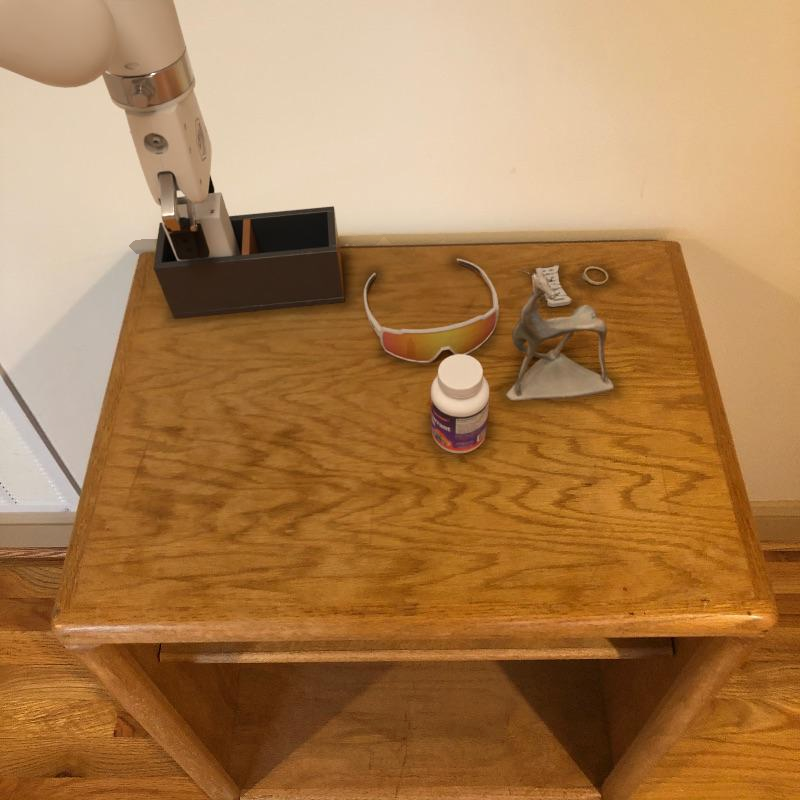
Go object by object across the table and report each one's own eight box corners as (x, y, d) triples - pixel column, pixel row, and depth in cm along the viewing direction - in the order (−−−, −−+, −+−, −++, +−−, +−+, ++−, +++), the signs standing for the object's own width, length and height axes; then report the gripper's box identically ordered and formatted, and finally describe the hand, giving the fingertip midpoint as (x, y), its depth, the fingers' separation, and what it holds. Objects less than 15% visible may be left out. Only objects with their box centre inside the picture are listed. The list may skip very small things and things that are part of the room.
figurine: (605, 347, 82) (632, 240, 70) (615, 397, 79) (646, 292, 66) (501, 351, 83) (510, 245, 71) (506, 400, 79) (517, 296, 67)
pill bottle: (423, 420, 78) (420, 358, 70) (472, 403, 79) (475, 340, 71) (444, 463, 75) (444, 403, 67) (495, 444, 76) (501, 383, 68)
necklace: (556, 265, 90) (514, 270, 89) (557, 261, 89) (515, 266, 89) (573, 307, 86) (528, 312, 85) (574, 303, 85) (529, 308, 85)
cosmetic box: (247, 273, 90) (224, 188, 81) (247, 301, 88) (222, 216, 78) (194, 278, 90) (164, 194, 80) (192, 307, 87) (160, 223, 78)
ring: (613, 278, 87) (589, 282, 87) (610, 284, 88) (587, 289, 87) (602, 262, 89) (578, 266, 88) (600, 268, 90) (576, 272, 89)
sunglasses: (379, 378, 81) (375, 342, 77) (358, 292, 92) (353, 256, 88) (512, 354, 82) (513, 317, 79) (475, 271, 93) (475, 236, 89)
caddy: (173, 318, 88) (152, 268, 81) (178, 273, 92) (159, 222, 86) (344, 302, 88) (336, 250, 82) (341, 258, 92) (334, 205, 86)
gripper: (184, 127, 63) (230, 279, 77) (197, 18, 73) (236, 169, 87) (90, 136, 63) (153, 287, 77) (117, 25, 73) (168, 176, 87)
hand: (197, 224), depth 82 cm, fingers open, 9 cm apart
